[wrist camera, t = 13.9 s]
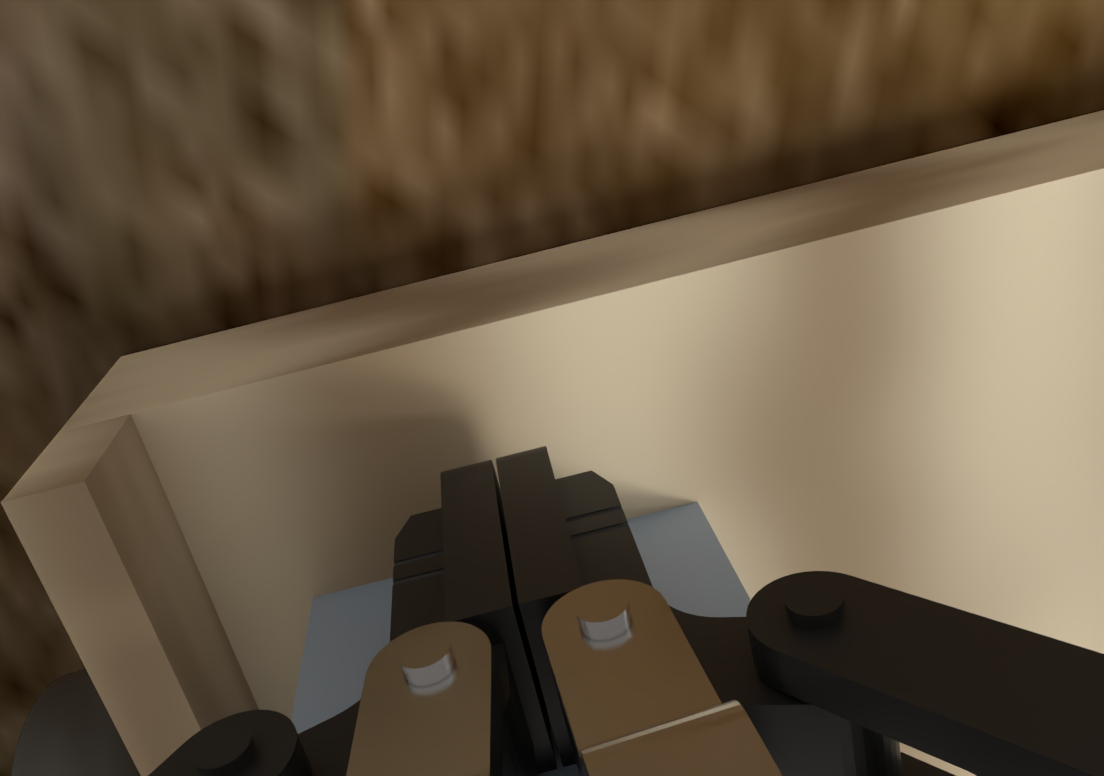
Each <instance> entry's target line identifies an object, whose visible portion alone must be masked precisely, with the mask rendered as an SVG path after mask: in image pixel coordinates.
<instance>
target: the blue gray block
mask: <svg viewBox="0 0 1104 776" xmlns="http://www.w3.org/2000/svg"><path fill="white" fill-rule="evenodd" d="M627 521H628V525H629V527H630V529H631V532H632V534H633V537H634V540H635V542H636V545H637V547H638V550H639V552H640V555H641V558H642V560H643V563H644V565H645V568H646V571H647V573H648V576H649V578H650V581H651V583H652V586H653V588H655V589H656V590H657V591H658V592H660V593H661V594H662V596H663V597H664V598H665V600H666V602H667V603H668V605H669V606H671V607H673V608H675V609H677V610H680V611H682V612H685V613H689V614H693V615H697V616H705V617H746V611H747V608H748V604H749V603H750V601H751V600H750V598H749V596H748V594H747V592H746V590H745V589H744V587H743V585H742V583H741V581H740V579H739V577H738V576H737V574H736V572H735V570H734V568H733V566H732V564H731V563H730V561H729V559H728V557H727V555H726V553H725V551H724V550H723V548H722V546H721V544H720V542H719V540H718V538H717V537H716V535H715V533H714V531H713V529H712V527H711V525H710V524H709V522H708V520H707V518H706V516H705V514H704V512H703V511H702V509H701V507H700V505H699V503H698V502H695V503H691V504H687V505H683V506H679V507H675V508H671V509H667V510H663V511H659V512H655V513H651V514H647V515H643V516H639V517H635V518H631V519H627ZM393 585H394V584H393V578H389V579H385V580H381V581H377V582H373V583H369V584H365V585H361V586H357V587H353V588H349V589H345V590H341V591H337V592H333V593H329V594H325V595H321V596H317V597H313V600H312V606H311V611H310V617H309V623H308V628H307V634H306V639H305V645H304V650H303V656H302V662H301V667H300V673H299V678H298V684H297V689H296V695H295V701H294V706H293V712H292V717H291V721H292V723H293V724H294V725H295V728H296V730H297V733H298V734H299V733H301V732H303V731H305V730H307V729H309V728H311V727H313V726H315V725H317V724H319V723H321V722H323V721H326V720H328V719H330V718H332V717H334V716H335V715H337V714H339V713H341V712H343V711H345V710H346V709H348V708H349V707H351V706H352V705H354V704H355V703H356V702H358V701H359V700H360V699H361V695H362V690H363V685H364V680H365V675H366V672H367V669H368V667H369V665H370V663H371V661H372V660H373V658H374V657H375V656H376V655H377V653H378V652H379V651H380V650H381V649H382V648H383V647H385V646H386V645H387V644H388V643H390V626H391V606H392V586H393ZM547 712H548V711H547ZM548 718H549V714H548ZM549 724H550V730H551V735H552V741H553V747H554V753H555V758H556V764H557V769H555V770H551V771H548V772H544V773H540V774H538V776H579V773H578V769H577V765H576V764H573V765H570V766H566V767H563V766H562V762H561V758H560V755H559V751H558V747H557V744H556V740H555V736H554V733H553V729H552V725H551V722H550V718H549Z"/></svg>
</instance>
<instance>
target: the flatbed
mask: <svg viewBox="0 0 1104 776" xmlns="http://www.w3.org/2000/svg"><path fill="white" fill-rule="evenodd" d="M543 446H546V447H547V451H548V455H549V458H550V462H551V466H552V469H553V473H554V477H555V479H559V478H563V477H567V476H571V475H575V474H579V473H583V472H587V471H591V470H592V471H593V472H595V473H596V474H598V475H599V476H601V477H603V478H604V479H606V480H607V481H609V482H610V483H612V484H613V485H614V488H615V490H616V493H617V496H618V498H619V501H620V503H621V507H622V509H623V511H624V514H625V516H626V519H631V518H635V517H639V516H643V515H647V514H651V513H655V512H659V511H663V510H667V509H671V508H675V507H679V506H683V505H687V504H691V503H695V502H698V503H699V505H700V507H701V509H702V511H703V512H704V514H705V516H706V518H707V520H708V522H709V524H710V525H711V527H712V529H713V531H714V533H715V535H716V537H717V538H718V540H719V542H720V544H721V546H722V548H723V550H724V551H725V553H726V555H727V557H728V559H729V561H730V563H731V564H732V566H733V568H734V570H735V572H736V574H737V576H738V577H739V579H740V581H741V583H742V585H743V587H744V589H745V590H746V592H747V594H748V596H749V598H750V600H751V599H752V598H753V596H754V595H755V594H756V593H757V592H758V591H759V590H760V589H762V588H763V587H764V586H765V585H767V584H769V583H771V582H772V581H774V580H777V579H779V578H781V577H784V576H787V575H791V574H795V573H800V572H808V571H830V572H838V573H843V574H847V575H851V576H854V577H857V578H860V579H864V580H867V581H870V582H873V583H877V584H880V585H883V586H886V587H889V588H893V589H896V590H899V591H902V592H906V593H909V594H912V595H915V596H918V597H922V598H925V599H928V600H931V601H935V602H938V603H941V604H944V605H948V606H951V607H954V608H957V609H960V610H964V611H967V612H970V613H973V614H977V615H980V616H983V617H986V618H989V619H993V620H996V621H999V622H1002V623H1006V624H1009V625H1012V626H1015V627H1019V628H1022V629H1025V630H1028V631H1031V632H1035V633H1038V634H1041V635H1044V636H1048V637H1051V638H1054V639H1057V640H1061V641H1064V642H1067V643H1070V644H1073V645H1077V646H1080V647H1083V648H1086V649H1090V650H1093V651H1096V652H1099V653H1102V654H1104V110H1102V111H1098V112H1094V113H1090V114H1086V115H1082V116H1078V117H1074V118H1070V119H1066V120H1062V121H1058V122H1054V123H1050V124H1046V125H1042V126H1038V127H1034V128H1030V129H1026V130H1022V131H1018V132H1014V133H1010V134H1006V135H1002V136H998V137H994V138H990V139H987V140H983V141H979V142H975V143H971V144H967V145H963V146H959V147H955V148H951V149H947V150H943V151H939V152H935V153H931V154H927V155H923V156H919V157H915V158H911V159H907V160H903V161H899V162H895V163H891V164H887V165H883V166H879V167H875V168H871V169H867V170H863V171H859V172H855V173H851V174H847V175H843V176H839V177H835V178H831V179H827V180H823V181H819V182H815V183H811V184H807V185H803V186H799V187H795V188H791V189H787V190H783V191H779V192H775V193H771V194H767V195H763V196H759V197H755V198H751V199H747V200H743V201H739V202H735V203H731V204H727V205H723V206H719V207H715V208H711V209H707V210H703V211H699V212H695V213H691V214H687V215H683V216H679V217H675V218H671V219H667V220H663V221H659V222H655V223H651V224H647V225H643V226H639V227H635V228H631V229H628V230H624V231H620V232H616V233H612V234H608V235H604V236H600V237H596V238H592V239H588V240H584V241H580V242H576V243H572V244H568V245H564V246H560V247H556V248H552V249H548V250H544V251H540V252H536V253H532V254H528V255H524V256H520V257H516V258H512V259H508V260H504V261H500V262H496V263H492V264H488V265H484V266H480V267H476V268H472V269H468V270H464V271H460V272H456V273H452V274H448V275H444V276H440V277H436V278H432V279H428V280H424V281H420V282H416V283H412V284H408V285H404V286H400V287H396V288H392V289H388V290H384V291H380V292H376V293H372V294H368V295H364V296H360V297H356V298H352V299H348V300H344V301H340V302H336V303H332V304H328V305H324V306H320V307H316V308H312V309H308V310H304V311H300V312H296V313H292V314H288V315H284V316H280V317H276V318H272V319H269V320H265V321H261V322H257V323H253V324H249V325H245V326H241V327H237V328H233V329H229V330H225V331H221V332H217V333H213V334H209V335H205V336H201V337H197V338H193V339H189V340H185V341H181V342H177V343H173V344H169V345H165V346H161V347H157V348H153V349H149V350H145V351H141V352H137V353H133V354H129V355H125V356H121V357H120V358H119V359H118V361H117V362H116V363H115V364H114V365H113V367H112V368H111V369H110V370H109V372H108V373H107V374H106V375H105V376H104V378H103V379H102V380H101V381H100V382H99V384H98V385H97V386H96V387H95V389H94V390H93V391H92V392H91V393H90V395H89V396H88V397H87V398H86V399H85V401H84V402H83V403H82V404H81V406H80V407H79V408H78V409H77V410H76V412H75V413H74V414H73V415H72V416H71V418H70V419H69V420H68V421H67V423H66V424H65V425H64V426H63V427H62V429H61V430H60V431H59V432H58V433H57V435H56V436H55V437H54V438H53V440H52V441H51V442H50V443H49V444H48V446H47V447H46V448H45V449H44V450H43V452H42V453H41V454H40V455H39V457H38V458H37V459H36V460H35V461H34V463H33V464H32V465H31V466H30V467H29V469H28V470H27V471H26V472H25V474H24V475H23V476H22V477H21V478H20V480H19V481H18V482H17V483H16V485H15V486H14V487H13V488H12V489H11V491H10V492H9V493H8V494H7V495H6V497H5V498H4V499H3V500H2V502H1V504H2V506H3V508H4V510H5V512H6V514H7V516H8V518H9V520H10V522H11V524H12V526H13V528H14V530H15V532H16V534H17V536H18V538H19V540H20V541H21V543H22V545H23V547H24V549H25V551H26V553H27V555H28V557H29V559H30V561H31V563H32V565H33V567H34V569H35V571H36V573H37V575H38V577H39V578H40V580H41V582H42V584H43V586H44V588H45V590H46V592H47V594H48V596H49V598H50V600H51V602H52V604H53V606H54V608H55V610H56V612H57V614H58V616H59V617H60V619H61V621H62V623H63V625H64V627H65V629H66V631H67V633H68V635H69V637H70V639H71V641H72V643H73V645H74V647H75V649H76V651H77V653H78V654H79V656H80V658H81V660H82V662H83V664H84V666H85V668H86V669H85V670H81V671H77V672H73V673H69V674H66V675H64V676H62V677H60V678H58V679H56V680H55V681H54V682H52V683H51V684H50V685H49V686H47V688H46V689H45V690H44V691H43V692H42V693H41V694H40V696H39V697H38V699H37V700H36V702H35V703H34V705H33V707H32V708H31V710H30V712H29V715H28V717H27V719H26V721H25V723H24V726H23V729H22V732H21V735H20V737H19V740H18V744H17V748H16V752H15V757H14V761H13V767H12V773H11V776H148V775H149V774H150V773H152V772H153V771H154V770H155V769H156V768H157V767H158V766H159V765H160V764H161V763H163V762H164V761H165V760H166V759H167V758H168V757H169V756H170V755H171V754H172V753H174V752H175V751H176V750H177V749H178V748H179V747H180V746H181V745H182V744H183V743H185V742H186V741H187V740H188V739H189V738H191V737H192V736H193V735H194V734H196V733H197V732H199V731H200V730H202V729H203V728H205V727H207V726H209V725H210V724H212V723H214V722H216V721H218V720H220V719H223V718H225V717H228V716H231V715H234V714H237V713H241V712H245V711H251V710H271V711H276V712H279V713H281V714H284V715H285V716H287V717H288V718H289V719H290V720H291V717H292V712H293V706H294V701H295V695H296V689H297V684H298V678H299V673H300V667H301V662H302V656H303V650H304V645H305V639H306V634H307V628H308V623H309V617H310V611H311V606H312V600H313V597H317V596H321V595H325V594H329V593H333V592H337V591H341V590H345V589H349V588H353V587H357V586H361V585H365V584H369V583H373V582H377V581H381V580H385V579H389V578H393V566H395V565H394V545H395V538H396V537H397V535H398V534H399V532H400V531H401V529H402V528H403V526H404V525H405V523H406V522H407V520H408V519H409V517H410V516H411V515H415V514H419V513H423V512H427V511H431V510H435V509H439V508H442V505H441V479H440V473H441V472H443V471H447V470H451V469H455V468H459V467H463V466H467V465H471V464H475V463H479V462H483V461H488V460H492V462H493V465H494V468H495V471H496V475H497V479H498V482H499V477H498V470H497V464H496V458H499V457H503V456H507V455H511V454H515V453H519V452H523V451H527V450H531V449H535V448H539V447H543ZM499 486H500V483H499ZM900 752H903V753H905V754H907V755H910V756H912V757H914V758H917V759H919V760H921V761H924V762H926V763H928V764H931V765H933V766H935V767H937V768H940V769H942V770H944V771H947V772H949V773H951V774H954V775H956V776H976V775H974V774H972V773H970V772H968V771H966V770H964V769H962V768H959V767H957V766H955V765H952V764H950V763H947V762H945V761H943V760H940V759H938V758H936V757H933V756H931V755H929V754H926V753H924V752H922V751H919V750H917V749H915V748H912V747H910V746H907V745H905V744H903V743H900Z"/></svg>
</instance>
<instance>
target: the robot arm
mask: <svg viewBox="0 0 1104 776" xmlns="http://www.w3.org/2000/svg"><path fill="white" fill-rule="evenodd" d="M496 464H497V470H498V477H499V482H498V479H497V475H496V471H495V468H494V465H493V462H492V460H488V461H483V462H479V463H475V464H471V465H467V466H463V467H459V468H455V469H451V470H447V471H443V472H441V473H440V479H441V505H442V508H439V509H435V510H431V511H427V512H423V513H419V514H415V515H411V516H410V517H409V519H408V520H407V522H406V523H405V525H404V526H403V528H402V529H401V531H400V532H399V534H398V535H397V537H396V538H395V545H394V565H395V566H393V584H394V585H393V586H392V606H391V626H390V643H388V644H387V645H386V646H385V647H383V648H382V649H381V650H380V651H379V652H378V653H377V655H376V656H375V657H374V658H373V660H372V661H371V663H370V665H369V667H368V669H367V672H366V675H365V680H364V685H363V690H362V695H361V699H360V700H359V701H358V702H356V703H355V704H354V705H352V706H351V707H349V708H348V709H346V710H345V711H343V712H341V713H339V714H337V715H335V716H334V717H332V718H330V719H328V720H326V721H323V722H321V723H319V724H317V725H315V726H313V727H311V728H309V729H307V730H305V731H303V732H301V733H299V734H298V733H297V730H296V728H295V725H294V724H293V723H292V721H291V720H290V719H289V718H288V717H287V716H285V715H284V714H281V713H279V712H276V711H271V710H251V711H245V712H241V713H237V714H234V715H231V716H228V717H225V718H223V719H220V720H218V721H216V722H214V723H212V724H210V725H209V726H207V727H205V728H203V729H202V730H200V731H199V732H197V733H196V734H194V735H193V736H192V737H191V738H189V739H188V740H187V741H186V742H185V743H183V744H182V745H181V746H180V747H179V748H178V749H177V750H176V751H175V752H174V753H172V754H171V755H170V756H169V757H168V758H167V759H166V760H165V761H164V762H163V763H161V764H160V765H159V766H158V767H157V768H156V769H155V770H154V771H153V772H152V773H150V774H149V775H148V776H538V774H540V773H544V772H548V771H551V770H555V769H557V764H556V758H555V753H554V747H553V741H552V735H551V730H550V724H549V718H550V722H551V725H552V729H553V733H554V736H555V740H556V744H557V747H558V751H559V755H560V758H561V762H562V766H563V767H566V766H570V765H573V764H576V765H577V769H578V773H579V776H956V775H954V774H951V773H949V772H947V771H944V770H942V769H940V768H937V767H935V766H933V765H931V764H928V763H926V762H924V761H921V760H919V759H917V758H914V757H912V756H910V755H907V754H905V753H903V752H900V743H903V744H905V745H907V746H910V747H912V748H915V749H917V750H919V751H922V752H924V753H926V754H929V755H931V756H933V757H936V758H938V759H940V760H943V761H945V762H947V763H950V764H952V765H955V766H957V767H959V768H962V769H964V770H966V771H968V772H970V773H972V774H974V775H976V776H1104V654H1102V653H1099V652H1096V651H1093V650H1090V649H1086V648H1083V647H1080V646H1077V645H1073V644H1070V643H1067V642H1064V641H1061V640H1057V639H1054V638H1051V637H1048V636H1044V635H1041V634H1038V633H1035V632H1031V631H1028V630H1025V629H1022V628H1019V627H1015V626H1012V625H1009V624H1006V623H1002V622H999V621H996V620H993V619H989V618H986V617H983V616H980V615H977V614H973V613H970V612H967V611H964V610H960V609H957V608H954V607H951V606H948V605H944V604H941V603H938V602H935V601H931V600H928V599H925V598H922V597H918V596H915V595H912V594H909V593H906V592H902V591H899V590H896V589H893V588H889V587H886V586H883V585H880V584H877V583H873V582H870V581H867V580H864V579H860V578H857V577H854V576H851V575H847V574H843V573H838V572H830V571H808V572H800V573H795V574H791V575H787V576H784V577H781V578H779V579H777V580H774V581H772V582H771V583H769V584H767V585H765V586H764V587H763V588H762V589H760V590H759V591H758V592H757V593H756V594H755V595H754V596H753V598H752V599H751V601H750V603H749V604H748V608H747V611H746V617H705V616H697V615H693V614H689V613H685V612H682V611H680V610H677V609H675V608H673V607H671V606H669V605H668V603H667V602H666V600H665V598H664V597H663V596H662V594H661V593H660V592H658V591H657V590H656V589H655V588H653V586H652V583H651V581H650V578H649V576H648V573H647V571H646V568H645V565H644V563H643V560H642V558H641V555H640V552H639V550H638V547H637V545H636V542H635V540H634V537H633V534H632V532H631V529H630V527H629V525H628V521H627V519H626V516H625V514H624V511H623V509H622V507H621V503H620V501H619V498H618V496H617V493H616V490H615V488H614V485H613V484H612V483H610V482H609V481H607V480H606V479H604V478H603V477H601V476H599V475H598V474H596V473H595V472H593V471H592V470H591V471H587V472H583V473H579V474H575V475H571V476H567V477H563V478H559V479H555V477H554V473H553V469H552V466H551V462H550V458H549V455H548V451H547V447H546V446H543V447H539V448H535V449H531V450H527V451H523V452H519V453H515V454H511V455H507V456H503V457H499V458H496ZM499 483H500V486H499ZM547 711H548V712H547ZM548 714H549V718H548Z"/></svg>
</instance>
